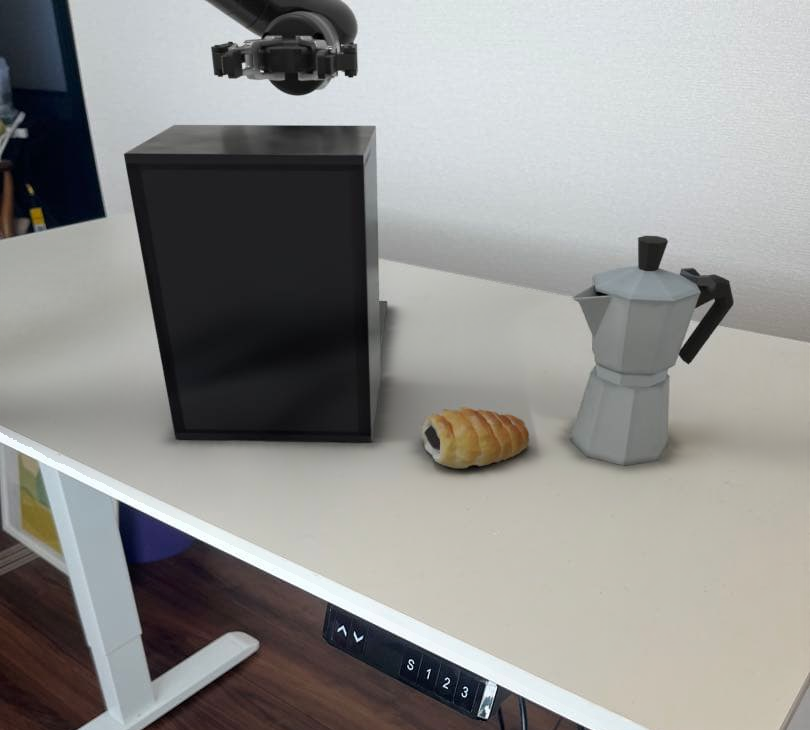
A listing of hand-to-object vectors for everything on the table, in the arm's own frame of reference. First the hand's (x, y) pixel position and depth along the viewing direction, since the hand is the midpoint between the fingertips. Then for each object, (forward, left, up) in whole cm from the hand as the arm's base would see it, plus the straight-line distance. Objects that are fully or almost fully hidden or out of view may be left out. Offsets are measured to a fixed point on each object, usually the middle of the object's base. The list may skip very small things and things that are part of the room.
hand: (275, 66), depth 76 cm
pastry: (+22, -19, -28) cm, 41 cm away
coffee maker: (+36, -14, -28) cm, 48 cm away
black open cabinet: (+1, -3, -28) cm, 28 cm away
